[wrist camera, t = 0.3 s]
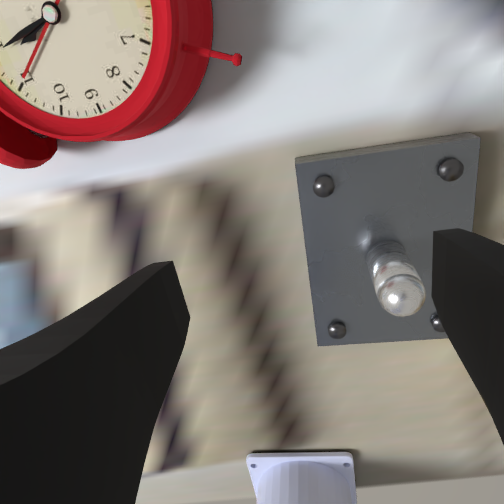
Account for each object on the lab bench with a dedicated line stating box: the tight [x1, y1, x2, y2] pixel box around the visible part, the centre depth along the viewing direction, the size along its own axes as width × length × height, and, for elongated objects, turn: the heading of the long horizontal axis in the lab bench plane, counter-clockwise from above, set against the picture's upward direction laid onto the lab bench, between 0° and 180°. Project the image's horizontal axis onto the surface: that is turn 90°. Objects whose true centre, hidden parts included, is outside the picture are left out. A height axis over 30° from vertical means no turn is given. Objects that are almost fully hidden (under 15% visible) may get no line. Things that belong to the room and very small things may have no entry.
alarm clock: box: [0, 0, 242, 169], centre depth 16 cm, size 10×6×15 cm
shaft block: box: [295, 132, 481, 346], centre depth 19 cm, size 11×8×5 cm
